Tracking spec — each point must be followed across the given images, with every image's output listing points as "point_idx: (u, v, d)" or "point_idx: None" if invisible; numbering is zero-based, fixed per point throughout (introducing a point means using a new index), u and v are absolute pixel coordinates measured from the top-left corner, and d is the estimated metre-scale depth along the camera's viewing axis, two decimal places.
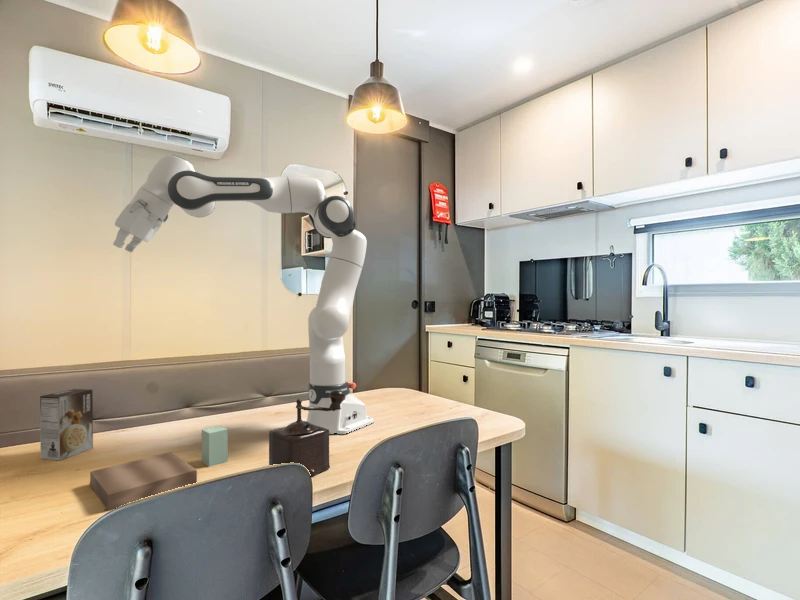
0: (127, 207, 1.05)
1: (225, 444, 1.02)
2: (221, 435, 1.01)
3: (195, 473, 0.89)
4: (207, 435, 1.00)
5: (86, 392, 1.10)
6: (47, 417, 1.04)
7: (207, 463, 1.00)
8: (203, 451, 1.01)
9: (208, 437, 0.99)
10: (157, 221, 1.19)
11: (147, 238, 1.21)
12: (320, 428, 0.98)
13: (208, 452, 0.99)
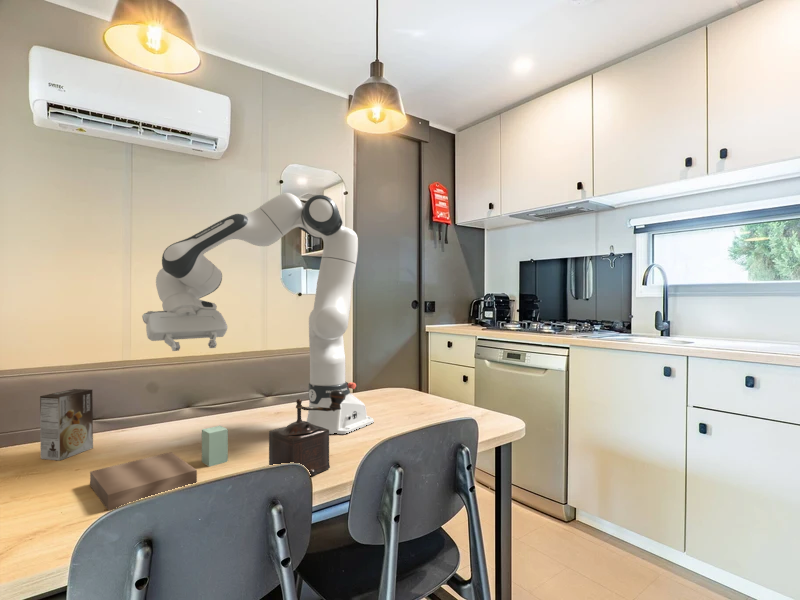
0: (146, 324, 1.09)
1: (225, 444, 1.02)
2: (221, 435, 1.01)
3: (195, 473, 0.89)
4: (207, 435, 1.00)
5: (86, 392, 1.10)
6: (47, 417, 1.04)
7: (207, 463, 1.00)
8: (203, 451, 1.01)
9: (208, 437, 0.99)
10: (199, 311, 1.18)
11: (216, 326, 1.18)
12: (320, 428, 0.98)
13: (208, 452, 0.99)
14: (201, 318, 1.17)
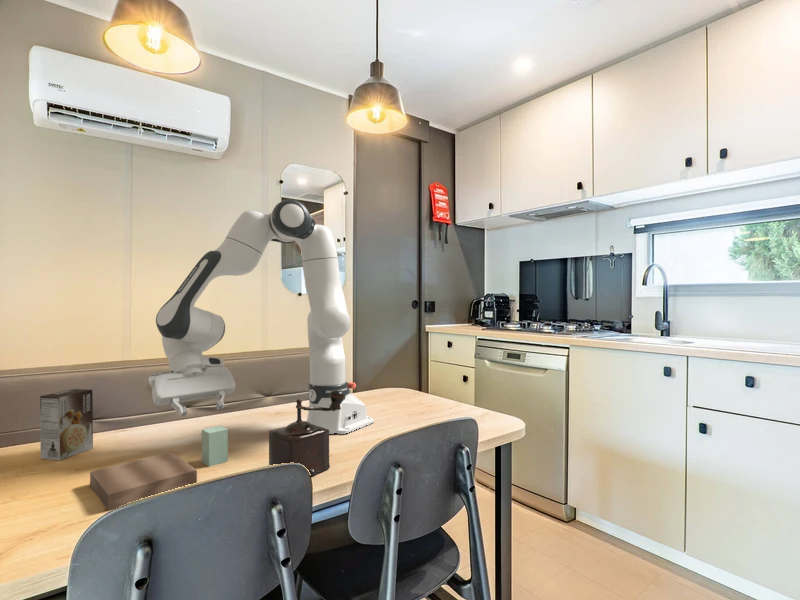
0: (152, 388, 1.06)
1: (225, 444, 1.02)
2: (221, 435, 1.01)
3: (195, 473, 0.89)
4: (207, 435, 1.00)
5: (86, 392, 1.10)
6: (47, 417, 1.04)
7: (207, 463, 1.00)
8: (203, 451, 1.01)
9: (208, 437, 0.99)
10: (207, 369, 1.14)
11: (224, 385, 1.14)
12: (320, 428, 0.98)
13: (208, 452, 0.99)
14: (208, 377, 1.14)
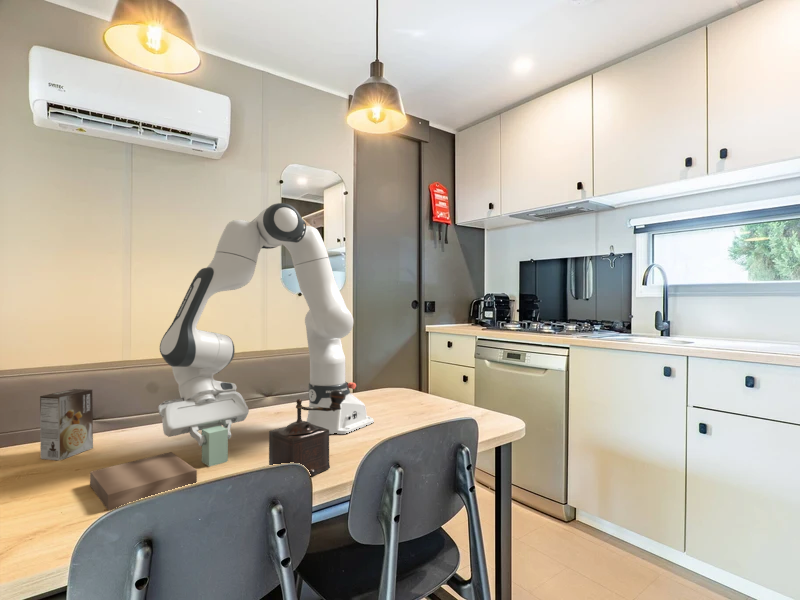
0: (162, 417, 1.00)
1: (225, 444, 1.02)
2: (221, 435, 1.01)
3: (195, 473, 0.89)
4: (207, 435, 1.00)
5: (86, 392, 1.10)
6: (47, 417, 1.04)
7: (207, 463, 1.00)
8: (203, 451, 1.01)
9: (208, 437, 0.99)
10: (219, 395, 1.08)
11: (237, 412, 1.08)
12: (320, 428, 0.98)
13: (208, 452, 0.99)
14: (221, 403, 1.08)
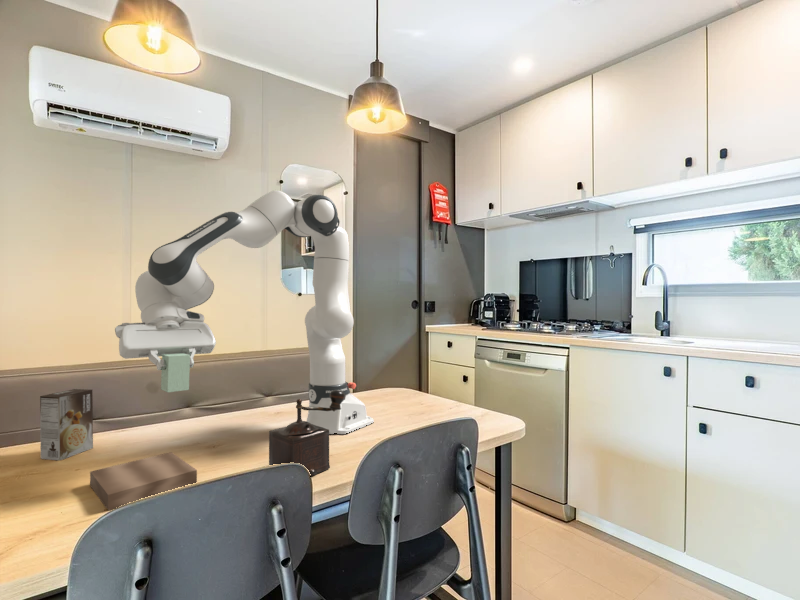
0: (119, 339, 0.93)
1: (186, 371, 0.95)
2: (182, 360, 0.94)
3: (195, 473, 0.89)
4: (167, 358, 0.93)
5: (86, 392, 1.10)
6: (47, 417, 1.04)
7: (166, 389, 0.92)
8: (162, 377, 0.94)
9: (167, 360, 0.92)
10: (184, 323, 1.01)
11: (202, 342, 1.01)
12: (320, 428, 0.98)
13: (167, 377, 0.92)
14: (185, 331, 1.01)
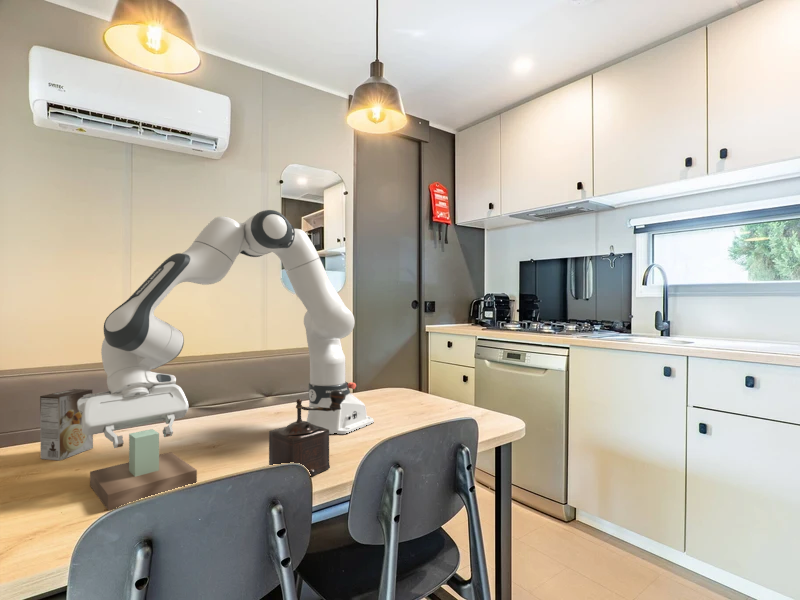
0: None
1: (156, 450, 0.89)
2: (150, 440, 0.88)
3: (195, 473, 0.89)
4: (133, 440, 0.87)
5: (86, 392, 1.10)
6: (47, 417, 1.04)
7: (133, 472, 0.87)
8: (130, 458, 0.88)
9: (134, 442, 0.86)
10: (153, 388, 0.95)
11: (174, 407, 0.96)
12: (320, 428, 0.98)
13: (134, 460, 0.86)
14: (155, 397, 0.95)
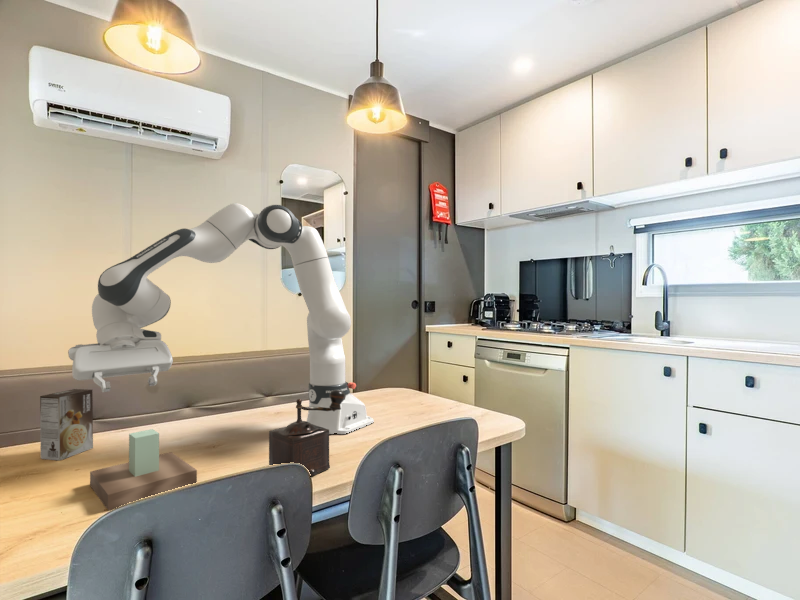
0: (73, 361, 0.95)
1: (156, 450, 0.89)
2: (150, 440, 0.88)
3: (195, 473, 0.89)
4: (133, 440, 0.87)
5: (86, 392, 1.10)
6: (47, 417, 1.04)
7: (133, 472, 0.87)
8: (130, 458, 0.88)
9: (134, 442, 0.86)
10: (139, 342, 1.03)
11: (158, 360, 1.03)
12: (320, 428, 0.98)
13: (134, 460, 0.86)
14: (141, 350, 1.03)
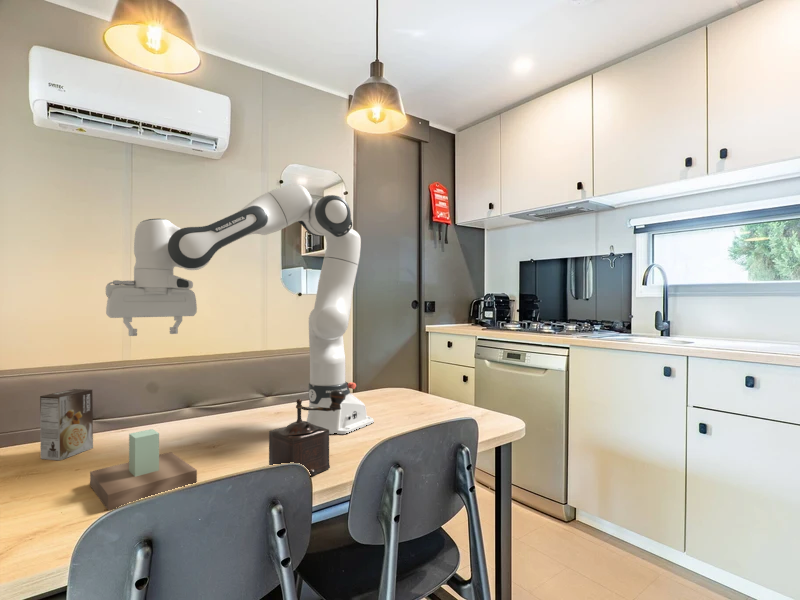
0: None
1: (156, 450, 0.89)
2: (150, 440, 0.88)
3: (195, 473, 0.89)
4: (133, 440, 0.87)
5: (86, 392, 1.10)
6: (47, 417, 1.04)
7: (133, 472, 0.87)
8: (130, 458, 0.88)
9: (134, 442, 0.86)
10: (171, 291, 1.08)
11: (184, 312, 1.10)
12: (320, 428, 0.98)
13: (134, 460, 0.86)
14: (171, 298, 1.08)
